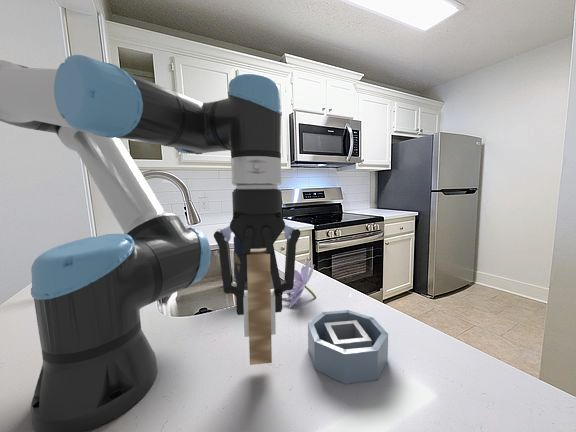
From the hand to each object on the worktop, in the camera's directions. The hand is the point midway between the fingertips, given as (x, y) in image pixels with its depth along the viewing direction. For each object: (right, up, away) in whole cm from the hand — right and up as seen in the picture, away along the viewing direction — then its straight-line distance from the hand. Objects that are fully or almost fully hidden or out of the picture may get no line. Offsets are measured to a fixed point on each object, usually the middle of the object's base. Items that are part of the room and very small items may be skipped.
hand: (260, 330), depth 40 cm
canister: (-7, -4, +36) cm, 37 cm away
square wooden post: (0, -5, +1) cm, 5 cm away
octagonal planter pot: (+15, -6, +4) cm, 17 cm away
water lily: (+7, -4, +28) cm, 29 cm away
